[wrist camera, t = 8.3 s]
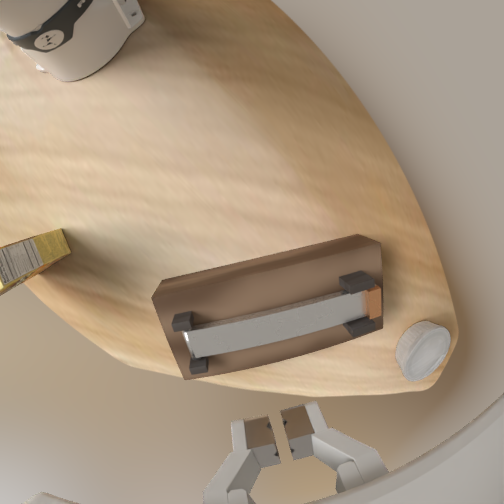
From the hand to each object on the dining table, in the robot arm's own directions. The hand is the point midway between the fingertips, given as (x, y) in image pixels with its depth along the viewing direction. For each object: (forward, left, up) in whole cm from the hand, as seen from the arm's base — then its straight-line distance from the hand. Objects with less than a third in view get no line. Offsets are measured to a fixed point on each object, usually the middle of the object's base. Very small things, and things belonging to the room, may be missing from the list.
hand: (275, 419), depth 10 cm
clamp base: (+6, +3, -26) cm, 27 cm away
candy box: (-8, -27, -26) cm, 39 cm away
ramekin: (+23, +28, -26) cm, 45 cm away
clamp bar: (+6, +3, -19) cm, 21 cm away
